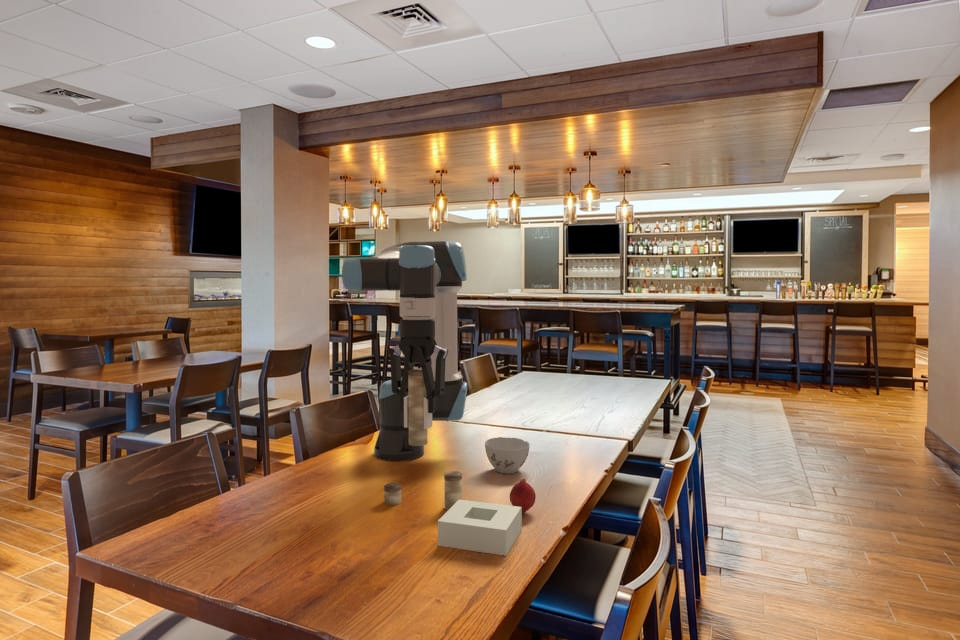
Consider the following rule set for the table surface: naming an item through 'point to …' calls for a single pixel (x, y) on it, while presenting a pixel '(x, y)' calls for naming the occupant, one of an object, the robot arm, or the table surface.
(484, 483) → the table surface
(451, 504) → the medium dowel
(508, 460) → the teacup
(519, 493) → the onion
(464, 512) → the hole block
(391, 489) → the short dowel
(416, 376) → the long dowel
